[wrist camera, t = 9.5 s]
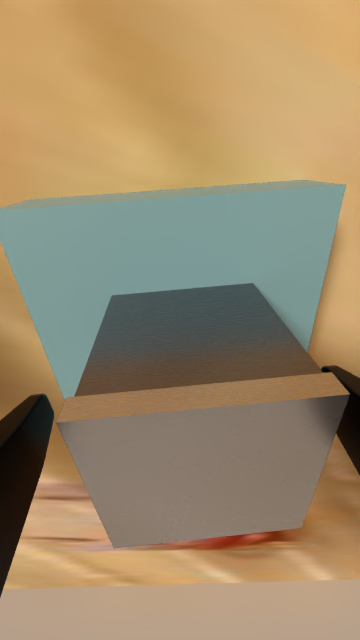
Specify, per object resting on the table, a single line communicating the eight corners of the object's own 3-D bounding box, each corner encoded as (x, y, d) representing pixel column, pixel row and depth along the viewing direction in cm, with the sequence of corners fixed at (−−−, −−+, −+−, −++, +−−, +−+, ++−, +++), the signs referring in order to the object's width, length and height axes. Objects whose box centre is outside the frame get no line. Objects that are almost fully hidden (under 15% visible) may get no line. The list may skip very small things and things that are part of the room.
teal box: (94, 389, 17) (80, 439, 14) (35, 198, 11) (-12, 211, 8) (268, 373, 17) (291, 419, 14) (296, 179, 11) (346, 184, 8)
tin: (131, 398, 12) (113, 548, 8) (108, 292, 10) (55, 422, 5) (246, 387, 12) (301, 528, 8) (255, 279, 10) (349, 394, 5)
